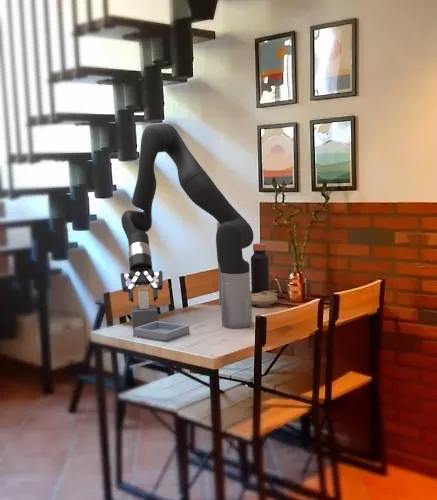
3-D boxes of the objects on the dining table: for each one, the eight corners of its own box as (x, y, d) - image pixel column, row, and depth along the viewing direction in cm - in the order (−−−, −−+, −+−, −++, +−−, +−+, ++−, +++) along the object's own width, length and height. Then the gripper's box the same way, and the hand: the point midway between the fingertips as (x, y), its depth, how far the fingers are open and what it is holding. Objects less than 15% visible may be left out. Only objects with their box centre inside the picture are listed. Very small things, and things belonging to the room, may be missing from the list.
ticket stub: (148, 313, 226) (147, 286, 225) (149, 316, 223) (148, 289, 221) (139, 314, 226) (137, 287, 225) (139, 317, 222) (138, 289, 221)
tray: (189, 333, 212) (189, 325, 211) (166, 342, 203) (165, 333, 202) (156, 328, 219) (156, 320, 219) (133, 336, 210) (132, 328, 210)
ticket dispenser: (155, 320, 230) (155, 304, 229) (158, 327, 221) (157, 310, 220) (131, 322, 228) (130, 305, 228) (132, 328, 220) (132, 311, 219)
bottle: (272, 296, 263) (271, 244, 261) (257, 298, 260) (256, 245, 257) (263, 293, 269) (262, 242, 266) (248, 295, 266) (247, 244, 263)
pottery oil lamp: (241, 302, 252) (248, 284, 253) (272, 314, 250) (279, 296, 251) (239, 299, 243) (246, 280, 244) (271, 311, 241) (278, 292, 242)
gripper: (118, 253, 228) (121, 295, 218) (161, 250, 230) (166, 292, 220) (118, 266, 234) (121, 308, 224) (161, 264, 236) (165, 305, 226)
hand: (143, 300), depth 222 cm, fingers open, 6 cm apart
